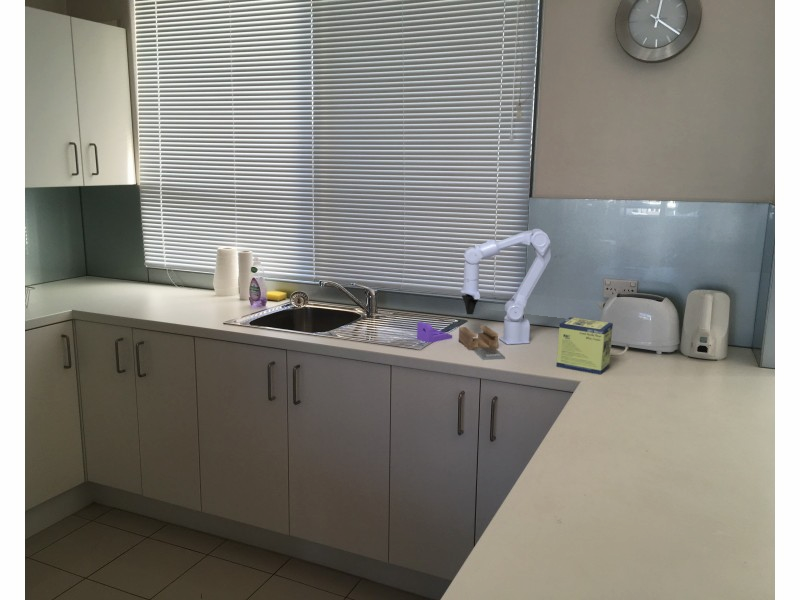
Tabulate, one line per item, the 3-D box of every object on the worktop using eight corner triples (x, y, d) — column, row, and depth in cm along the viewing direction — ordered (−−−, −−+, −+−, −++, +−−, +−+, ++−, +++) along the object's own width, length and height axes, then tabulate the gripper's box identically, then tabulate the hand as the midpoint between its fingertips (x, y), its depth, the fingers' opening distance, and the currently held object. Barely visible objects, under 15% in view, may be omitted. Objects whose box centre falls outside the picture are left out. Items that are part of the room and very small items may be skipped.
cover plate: (493, 350, 250) (493, 345, 249) (504, 360, 238) (504, 355, 238) (472, 351, 248) (473, 346, 248) (482, 361, 237) (483, 356, 236)
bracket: (428, 343, 257) (428, 326, 255) (417, 339, 262) (417, 322, 260) (452, 339, 264) (452, 322, 262) (440, 335, 269) (441, 318, 268)
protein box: (601, 375, 222) (605, 329, 219) (555, 366, 230) (558, 322, 227) (610, 367, 231) (613, 322, 228) (565, 359, 239) (568, 316, 236)
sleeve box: (485, 340, 262) (486, 326, 261) (497, 348, 250) (498, 334, 249) (458, 341, 259) (459, 327, 258) (469, 350, 248) (469, 335, 247)
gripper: (455, 276, 262) (453, 310, 265) (467, 282, 248) (466, 318, 251) (472, 275, 264) (470, 309, 266) (485, 282, 250) (484, 318, 253)
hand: (469, 314), depth 259 cm, fingers closed
